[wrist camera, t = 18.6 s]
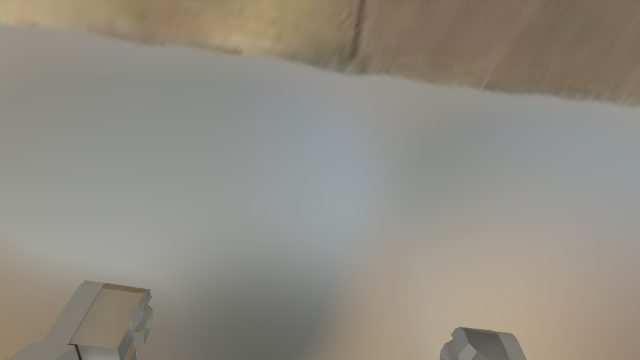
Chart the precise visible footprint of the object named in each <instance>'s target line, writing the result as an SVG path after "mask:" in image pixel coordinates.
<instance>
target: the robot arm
mask: <svg viewBox="0 0 640 360" xmlns="http://www.w3.org/2000/svg"><path fill="white" fill-rule="evenodd" d="M150 300H151V292H150V289H144V288H136V287H130V286H122V285H116V284H109V283H102V282H94V281H84V282H83V283H82V284H81V285H80V286H79V287H78V288H77V290H76V291H75V293H74V294H73V296H72V297H71V299H70V301H69V302H68V303H67V305H66V306H65V308H64V310H63V311H62V313H61V314H60V316H59V317H58V319H57V320H56V322H55V323H54V325H53V326H52V328H51V329H50V331H49V333H48V334H47V335H46V337H45V339H44V340H43V341H42V342H40V341H35V342H33V343H32V344H30V345H29V346H27V347H26V348H24V349H23V350H21V351H19V352H18V353H16V354H15V355H13V356H12V357H10V358H9V359H7V360H137V356H136V352H137V351H139V350H140V349H141V348H143V347H144V346H145V344H146V341H147V339H148V336H149V333H150V329H151V325H152V320H153V319H152V318H153V310H152V308H151V307H150V306H149V305H148V304H149V302H150ZM451 335H452V338H453V340H451V341H449V342H447V343H445V344H444V346H443V348H442V350H441V353H440V360H526V358H525V355H524V353H523V351H522V349H521V347H520V345H519V342H518V340H517V339H516V337H515V336H514V335H513V334H511V333H504V332H495V331H491V330H482V329H473V328H464V327H458V328H456V329H455V330H454V331H453V332H452V334H451Z"/></svg>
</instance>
